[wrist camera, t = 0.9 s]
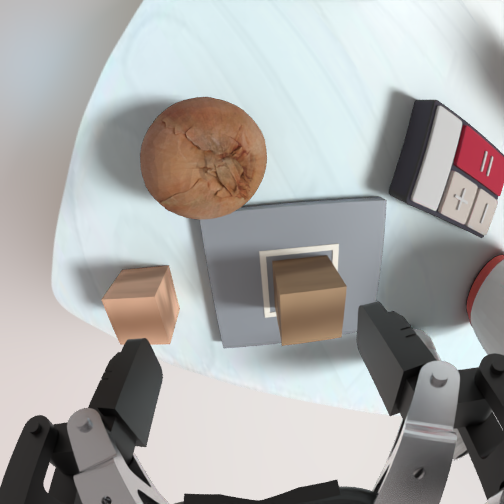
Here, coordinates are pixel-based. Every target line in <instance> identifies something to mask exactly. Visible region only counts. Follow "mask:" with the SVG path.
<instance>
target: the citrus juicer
mask: <svg viewBox="0 0 504 504" xmlns="http://www.w3.org/2000/svg"><path fill="white" fill-rule="evenodd" d="M467 313H468V317H469V320H470V324H471V326H472V327H473V329H474V332H475V334H476V336H477V338H478V340H479V342H480V343H481V345H482V347H483V349H484V350H485V351H486V353H487V354H488V355H489V354H493V353H497V354H501V355H504V255H499V256H497V257H495V258H493V259H492V260H491V261H489V262H488V263H487V264H486V265H485V266H484V268H483V269H482V270H481V271H480V273H479V274H478V276H477V278H476V279H475V281H474V283H473V285H472V287H471V290H470V292H469V296H468V299H467Z"/></svg>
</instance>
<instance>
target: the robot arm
mask: <svg viewBox="0 0 504 504" xmlns="http://www.w3.org/2000/svg"><path fill="white" fill-rule="evenodd" d="M357 345H358V350H359V352H360V354H361V356H362V358H363V361H364V363H365V365H366V367H367V369H368V371H369V373H370V375H371V377H372V379H373V381H374V383H375V385H376V387H377V389H378V392H379V394H380V396H381V398H382V400H383V402H384V404H385V407H386V409H387V411H388V413H389V415H390V416H392V415H395V414H397V413H400V414H401V416H402V418H403V419H402V422H401V425H400V428H399V430H398V433H397V436H396V439H395V441H394V444H393V447H392V449H391V452H390V454H389V457H388V459H387V461H386V464H385V466H384V468H383V470H382V472H381V474H380V476H379V478H378V480H377V482H376V484H375V487H374V489H373V491H370V490H366V489H362V488H356V487H339V486H338V481H337V480H333V481H329V482H325V483H320V484H315V485H310V486H305V487H299V488H296V489H294V490H291V491H288V492H285V493H283V494H280V495H277V496H274V497H271V498H268V499H264V500H260V501H256V500H249V499H242V498H236V497H231V496H225V495H220V494H214V495H211V494H210V495H209V494H205V495H204V494H184V495H185V496H184V502H179V503H175V504H439V502H440V500H441V497H442V494H443V491H444V488H445V485H446V481H447V478H448V474H449V471H450V467H451V463H452V459H453V455H454V451H455V446H456V441H457V433H456V432H453V429H458V431H459V433H460V435H461V438H462V440H463V442H464V444H465V446H466V448H467V451H468V453H469V455H470V457H471V460H472V462H473V464H474V467H475V469H476V472H477V474H478V476H479V479H480V481H481V484H482V487H483V489H484V492H485V495H486V497H487V500H488V501H487V502H486V504H504V355H501V354H497V353H493V354H489V355H487V356H485V357H484V358H483V359H482V361H481V363H480V366H479V367H477V368H471V369H464V370H457V369H456V367H455V366H453V365H452V364H450V363H448V362H445V361H437V360H436V359H435V357H434V356H433V354H432V353H431V352H430V350H429V349H428V348H427V346H426V345H425V344H424V342H423V341H422V340H421V339H420V337H419V336H418V335H416V332H415V331H414V329H413V328H411V326H410V324H409V323H408V322H407V321H406V319H405V318H404V317H403V316H401V315H399V314H397V313H396V312H394V311H391V312H387V311H386V310H385V308H384V307H383V306H382V304H381V303H380V302H378V301H377V302H373V303H369V304H364V305H360V306H359V308H358V323H357ZM162 375H163V374H162V369H161V366H160V364H159V362H158V360H157V358H156V356H155V353H154V351H153V349H152V347H151V345H150V343H149V341H148V340H147V339H146V338H139V339H128V340H127V341H126V342H125V345H124V347H123V349H122V351H121V352H118V353H117V354H116V355H115V356H114V357H113V358H112V359H111V360H110V361H109V364H108V366H107V367H106V370H105V373H104V374H103V376H102V380H101V381H100V383H99V385H98V387H97V389H96V391H95V393H94V396H93V398H92V400H91V402H90V405H89V407H88V408H84V409H81V410H78V411H77V412H75V413H74V414H73V415H72V416H71V417H70V419H69V421H68V422H67V423H61V424H54V425H53V424H52V423H51V422H50V421H49V420H48V419H47V418H46V417H45V416H42V415H39V416H35V417H33V418H31V419H30V420H29V421H28V422H27V423H26V424H25V426H24V428H23V430H22V433H21V435H20V437H19V439H18V442H17V444H16V447H15V449H14V451H13V454H12V456H11V459H10V462H9V464H8V467H7V470H6V472H5V475H4V478H3V481H2V484H1V487H0V504H169V503H168V502H167V501H166V499H165V498H164V497H163V496H162V495H161V494H160V493H159V492H158V491H157V489H156V488H155V486H154V485H153V483H152V482H151V480H150V478H149V477H148V475H147V474H146V472H145V470H144V469H143V467H142V465H141V463H140V462H139V460H138V458H137V456H136V455H135V454H134V453H133V452H134V448H135V446H140V447H146V445H147V441H148V437H149V432H150V428H151V424H152V420H153V416H154V412H155V408H156V403H157V399H158V395H159V392H160V388H161V384H162V378H163V377H162ZM492 411H493V412H494V414H495V416H496V417H497V419H496V417H495V416H494V414H493V412H492ZM497 420H498V421H499V423H500V424H499V423H498V421H497ZM500 425H501V426H500ZM501 427H502V428H503V430H502V428H501ZM49 462H50V463H51V464H53V465H54V466H55V467H56V469H55V472H54V475H53V479H52V482H51V486H50V489H49V493H47V492H46V491H45V489H44V486H43V482H44V478H45V475H46V471H47V468H48V465H49Z"/></svg>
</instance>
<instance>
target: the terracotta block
mask: <svg viewBox="0 0 504 504" xmlns="http://www.w3.org/2000/svg"><path fill="white" fill-rule="evenodd" d="M102 302H103V305H104V307H105V310H106V312H107V315H108V317H109V320H110V322H111V324H112V327H113V329H114V331H115V334H116V336H117V338H118V340H119V342H120V344H124V345H125V342H126V341H127V340H128V339H139V338H146V339H147V340H148V341H149V343H150V344H170V343H171V339H172V335H173V332H174V328H175V324H176V321H177V317H178V314H179V310H180V308H179V304H178V300H177V296H176V292H175V288H174V284H173V280H172V276H171V272H170V268H169V265H168V266H157V267H146V268H136V269H125V270H122V271H121V272H120V274H119V275H118V277H117V278H116V279H115V281H114V282H113V284H112V285H111V286H110V288H109V289H108V291H107V292H106V294H105V295H104V297H103V298H102Z"/></svg>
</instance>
